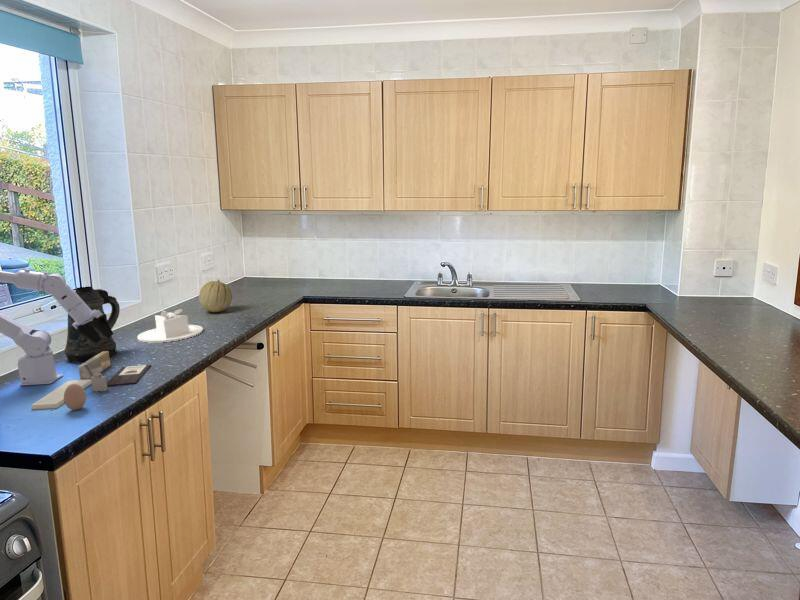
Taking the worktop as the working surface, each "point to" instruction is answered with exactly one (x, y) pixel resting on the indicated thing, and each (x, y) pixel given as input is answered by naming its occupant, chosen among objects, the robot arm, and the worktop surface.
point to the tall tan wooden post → (96, 364)
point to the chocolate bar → (128, 375)
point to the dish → (170, 328)
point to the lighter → (95, 379)
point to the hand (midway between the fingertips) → (104, 338)
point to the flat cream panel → (58, 395)
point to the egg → (74, 397)
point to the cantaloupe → (215, 296)
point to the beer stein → (83, 347)
